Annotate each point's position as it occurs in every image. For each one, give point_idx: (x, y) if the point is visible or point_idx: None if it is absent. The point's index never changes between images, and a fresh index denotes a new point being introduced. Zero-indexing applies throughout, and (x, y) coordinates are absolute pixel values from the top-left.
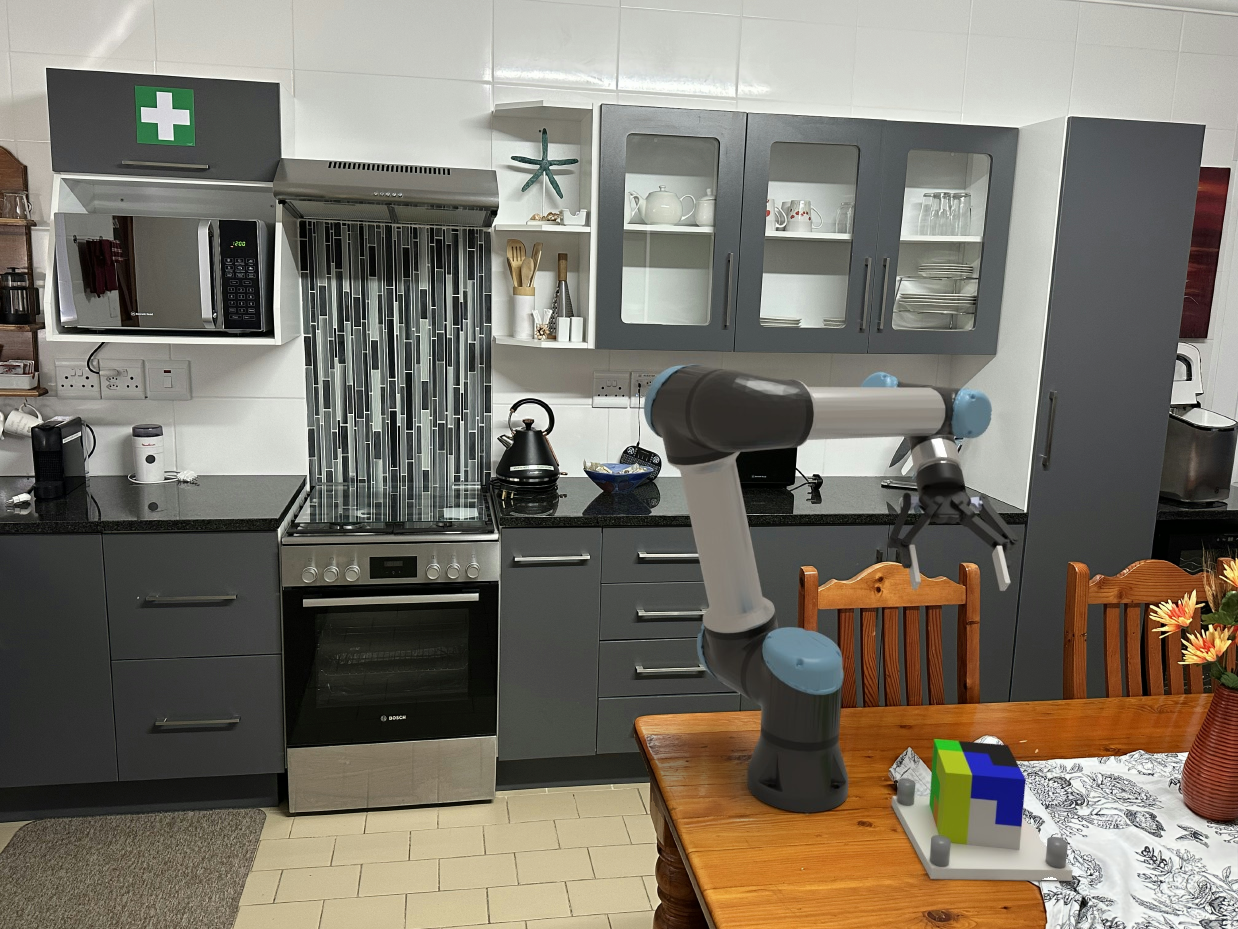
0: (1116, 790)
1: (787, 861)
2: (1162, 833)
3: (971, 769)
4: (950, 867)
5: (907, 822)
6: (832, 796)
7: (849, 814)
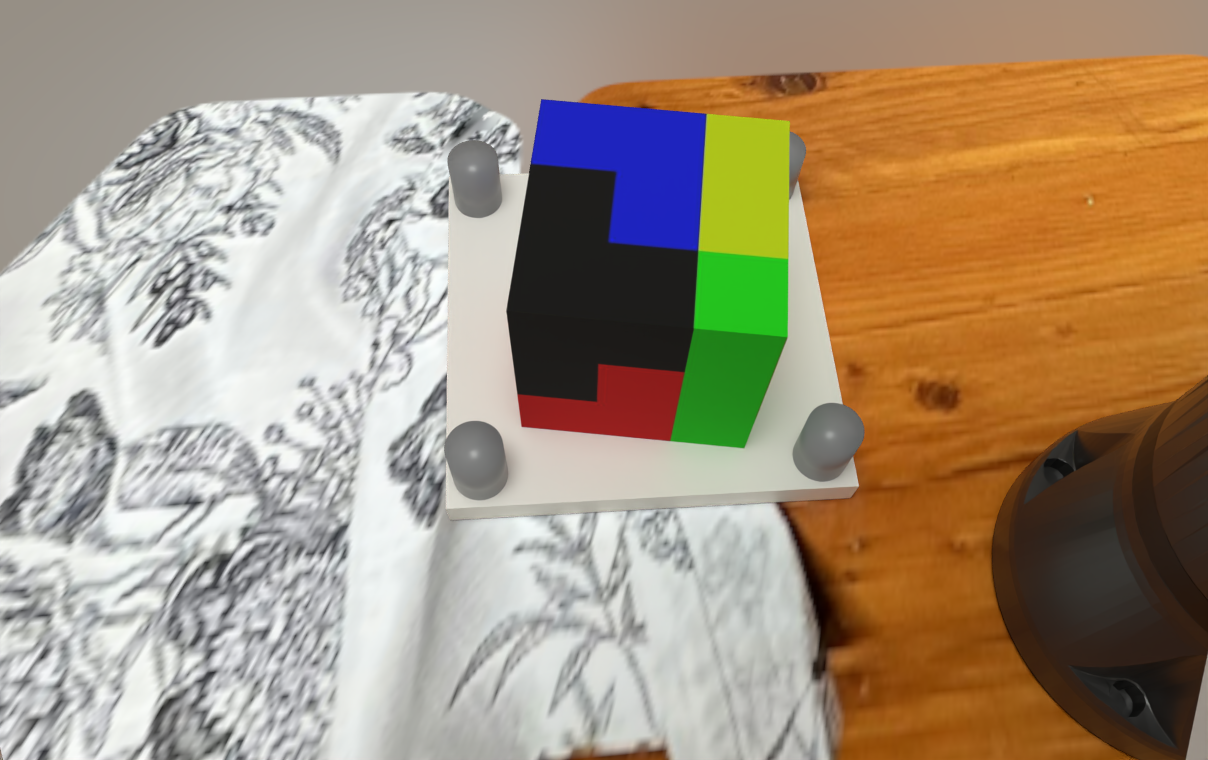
0: (11, 672)
1: (1129, 222)
2: (59, 410)
3: (700, 142)
4: None
5: (827, 344)
6: (1057, 440)
7: (982, 439)
